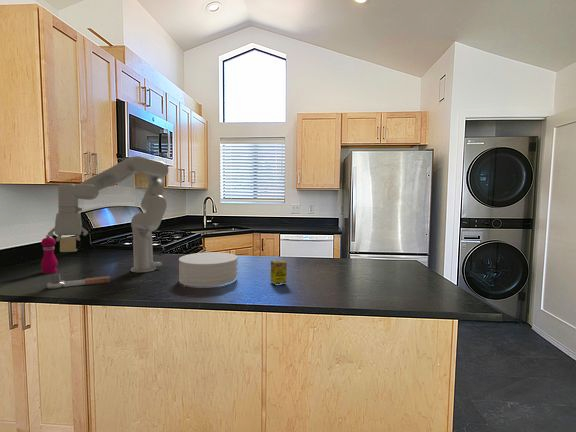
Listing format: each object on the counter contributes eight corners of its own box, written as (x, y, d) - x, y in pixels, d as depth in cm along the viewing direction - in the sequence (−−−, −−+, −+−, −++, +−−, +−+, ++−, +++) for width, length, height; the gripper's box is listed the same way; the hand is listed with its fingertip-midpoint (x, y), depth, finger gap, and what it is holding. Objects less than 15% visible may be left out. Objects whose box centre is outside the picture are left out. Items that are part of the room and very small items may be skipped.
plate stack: (199, 293, 137) (199, 267, 136) (168, 280, 156) (168, 257, 155) (248, 280, 157) (249, 257, 157) (216, 270, 176) (216, 250, 175)
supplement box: (275, 286, 148) (275, 263, 147) (270, 283, 153) (270, 260, 152) (286, 284, 150) (287, 262, 149) (281, 281, 156) (281, 259, 155)
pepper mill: (49, 274, 162) (47, 235, 161) (37, 273, 164) (35, 235, 162) (61, 270, 169) (60, 234, 168) (50, 270, 171) (48, 233, 169)
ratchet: (109, 279, 155) (109, 268, 155) (109, 282, 149) (109, 271, 149) (48, 285, 143) (48, 273, 143) (46, 289, 138) (45, 277, 137)
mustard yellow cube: (77, 249, 150) (77, 236, 150) (75, 251, 145) (75, 238, 145) (61, 249, 147) (61, 237, 147) (59, 252, 142) (59, 238, 142)
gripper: (91, 210, 153) (91, 247, 154) (46, 209, 144) (47, 248, 145) (89, 211, 146) (90, 249, 147) (43, 210, 138) (43, 251, 139)
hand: (68, 248), depth 146 cm, fingers closed on mustard yellow cube, 6 cm apart
